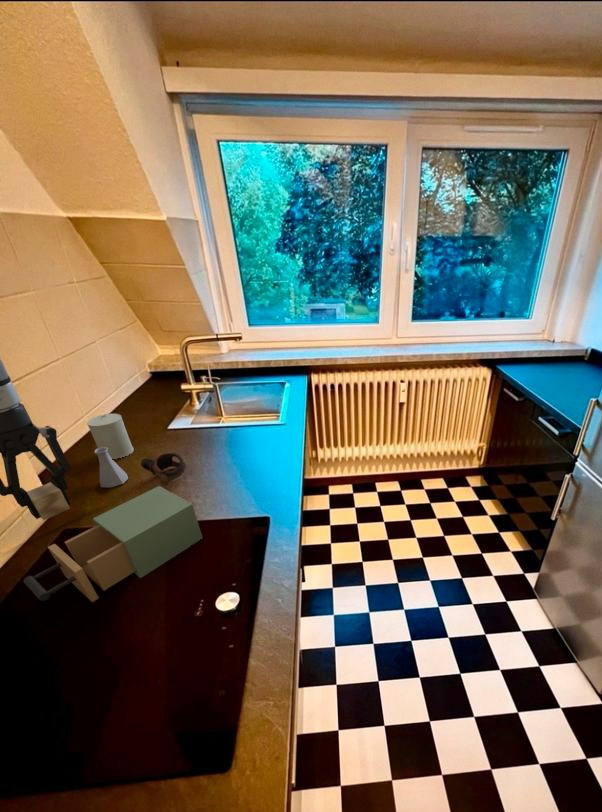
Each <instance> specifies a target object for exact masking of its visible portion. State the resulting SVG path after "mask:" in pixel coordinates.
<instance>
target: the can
mask: <svg viewBox="0 0 602 812" xmlns="http://www.w3.org/2000/svg"><path fill="white" fill-rule="evenodd" d="M124 423H125V422H124V420H123V417H122V415H121V414H119V413H104V414H99V415H96V416H93V417H92V418H89V419H88V420H87V421H86V425H87V427H88V429H89V431H90V434H91V436H92V438H93V440H94V442H95V444H96V445H95V446H96V447H97V449H98V448H102V447H107V448H108V454H109V455H110V457H111V458H112V459H116V460H118V459H117V458H121V459H123V458H122V457H124V458H126V457H128V456H130V455H131V454H133V453H134V449H135V448H134V446H133V445H132V442H131V440H130V437H129V434H128V432H127V429H126V426H125V424H124ZM129 454H130V455H129ZM125 456H126V457H125Z"/></svg>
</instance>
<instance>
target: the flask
mask: <svg viewBox="0 0 602 812" xmlns="http://www.w3.org/2000/svg"><path fill="white" fill-rule="evenodd" d="M94 454H95V455H96V456H97V458H98V463H99V486H100V488H114V487H117V486H120V485H123V484H125V482H127V480H129V477H128V474H127V473H126V472H125V471H124V469H123V468H121V467H120V466H119V465H118V464H117V462H115V460H112V458H111V457H110V455H109V454H108V448H107V447H102V448H98V447H97V448H96V449H94Z"/></svg>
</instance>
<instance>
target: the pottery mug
mask: <svg viewBox="0 0 602 812" xmlns="http://www.w3.org/2000/svg"><path fill="white" fill-rule="evenodd" d="M173 457H175V458H177V459H178V460H179V461H176V460H174V459H173ZM140 466H141V467H142V468H143V469H144V470H146V471H149V472H150V473H152V475H153V476H156V475H157V476H158V477H160V483H161V484H163V485H168V484H169V482H172V481H174V480H176V479H178V478H179V477H181V476H182V475H183V474H184V472H185V470H186V468H187V467H188V464H186V462H185V461H184V457H182V456H181V454H179V453H177V452H175V451H164V452H161V453H159V454H157V456H155V458H153V457H145V458H142V459H141V461H140ZM168 468H175V469H172V470H168V471H167V470H166V469H168ZM164 470H166V471H165V473H164V472H163V471H164Z"/></svg>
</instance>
